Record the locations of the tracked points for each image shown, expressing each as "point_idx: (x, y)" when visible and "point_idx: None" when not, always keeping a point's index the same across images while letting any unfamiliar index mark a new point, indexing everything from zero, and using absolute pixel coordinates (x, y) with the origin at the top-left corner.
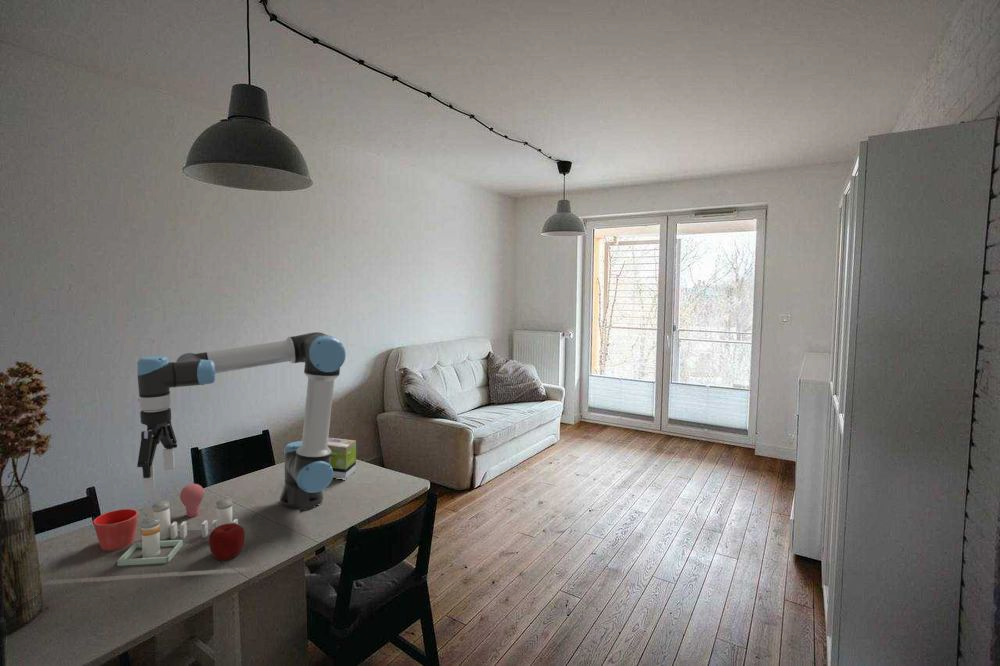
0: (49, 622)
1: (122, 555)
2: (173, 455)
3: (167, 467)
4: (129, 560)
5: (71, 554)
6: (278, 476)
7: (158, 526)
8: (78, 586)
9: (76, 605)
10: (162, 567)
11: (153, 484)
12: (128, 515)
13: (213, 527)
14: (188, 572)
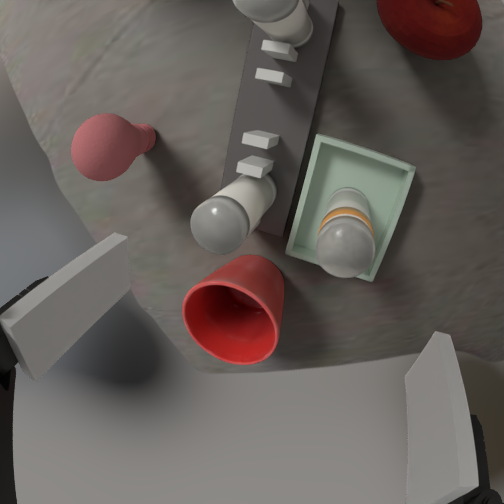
0: (492, 338)
1: None
2: (47, 287)
3: (119, 279)
4: (382, 257)
5: None
6: (24, 23)
7: (356, 215)
8: (405, 325)
9: (471, 316)
10: None
11: (452, 352)
12: (197, 294)
13: (291, 50)
14: (461, 118)
